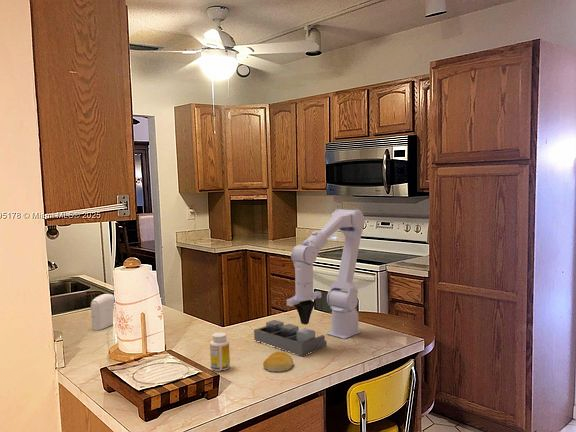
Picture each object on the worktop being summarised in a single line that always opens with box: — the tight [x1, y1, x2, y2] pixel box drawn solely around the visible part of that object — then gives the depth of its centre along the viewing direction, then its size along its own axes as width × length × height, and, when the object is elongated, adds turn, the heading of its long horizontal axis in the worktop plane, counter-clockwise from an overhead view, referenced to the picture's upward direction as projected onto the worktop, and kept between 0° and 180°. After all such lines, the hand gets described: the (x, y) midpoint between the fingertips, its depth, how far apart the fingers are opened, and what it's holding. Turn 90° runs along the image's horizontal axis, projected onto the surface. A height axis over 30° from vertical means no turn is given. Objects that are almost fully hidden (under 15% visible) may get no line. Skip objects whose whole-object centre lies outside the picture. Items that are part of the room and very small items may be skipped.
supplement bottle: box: [209, 332, 231, 372], centre depth 147 cm, size 6×6×10 cm
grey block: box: [297, 327, 316, 343], centre depth 161 cm, size 4×4×5 cm
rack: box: [253, 319, 328, 357], centre depth 167 cm, size 12×22×6 cm, turn 46°
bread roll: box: [262, 351, 294, 372], centre depth 147 cm, size 8×9×4 cm
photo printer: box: [90, 293, 115, 331], centre depth 190 cm, size 10×4×12 cm, turn 160°
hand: (304, 323), depth 161 cm, fingers closed
